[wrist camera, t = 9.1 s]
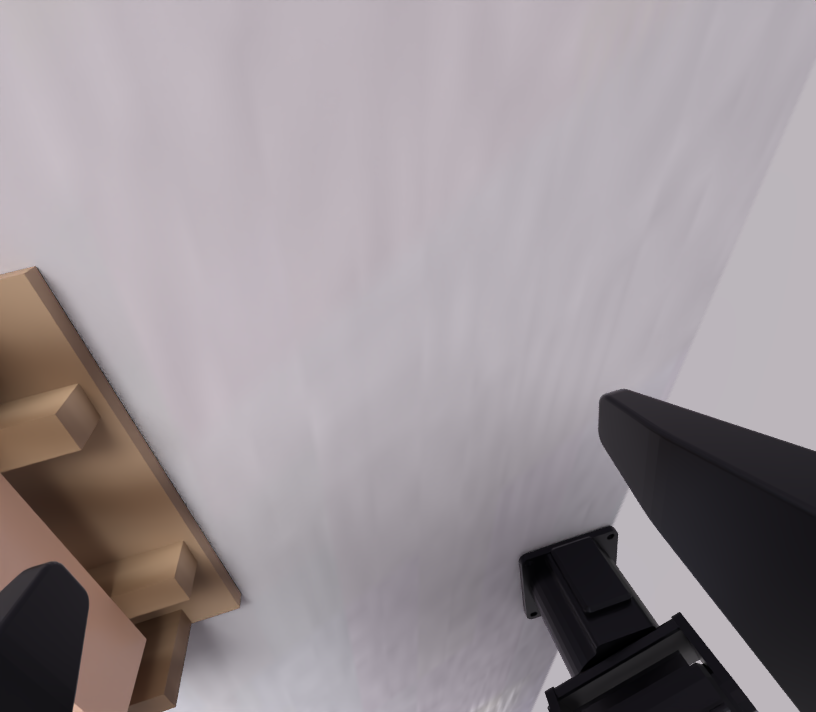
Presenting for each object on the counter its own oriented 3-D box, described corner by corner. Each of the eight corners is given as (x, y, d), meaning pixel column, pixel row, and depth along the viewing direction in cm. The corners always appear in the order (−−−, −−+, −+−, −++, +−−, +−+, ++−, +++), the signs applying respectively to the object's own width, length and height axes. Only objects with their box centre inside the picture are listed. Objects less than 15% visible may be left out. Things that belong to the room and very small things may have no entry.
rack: (241, 594, 25) (231, 689, 21) (51, 655, 24) (3, 767, 20) (35, 266, 16) (-54, 323, 12) (-290, 344, 15) (-513, 438, 11)
